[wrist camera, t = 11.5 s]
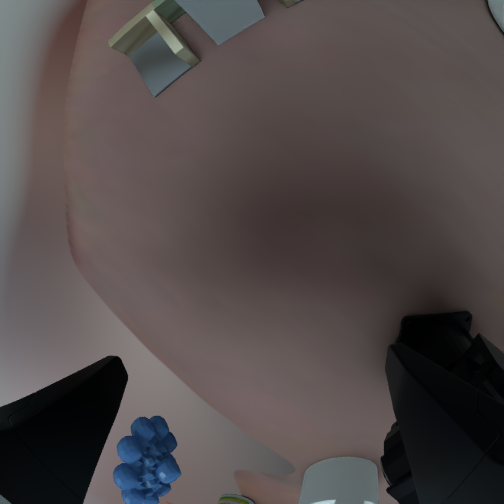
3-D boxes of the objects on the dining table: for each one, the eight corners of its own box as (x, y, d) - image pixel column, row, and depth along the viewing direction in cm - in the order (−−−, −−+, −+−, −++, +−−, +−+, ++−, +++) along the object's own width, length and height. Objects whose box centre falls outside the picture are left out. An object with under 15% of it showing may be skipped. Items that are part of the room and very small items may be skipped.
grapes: (212, 465, 29) (176, 533, 18) (167, 455, 31) (127, 514, 20) (188, 405, 27) (133, 486, 16) (139, 395, 29) (79, 460, 17)
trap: (334, -14, 14) (333, -34, 12) (155, 97, 20) (134, 88, 17) (285, -50, 14) (279, -69, 11) (127, 51, 20) (107, 41, 17)
